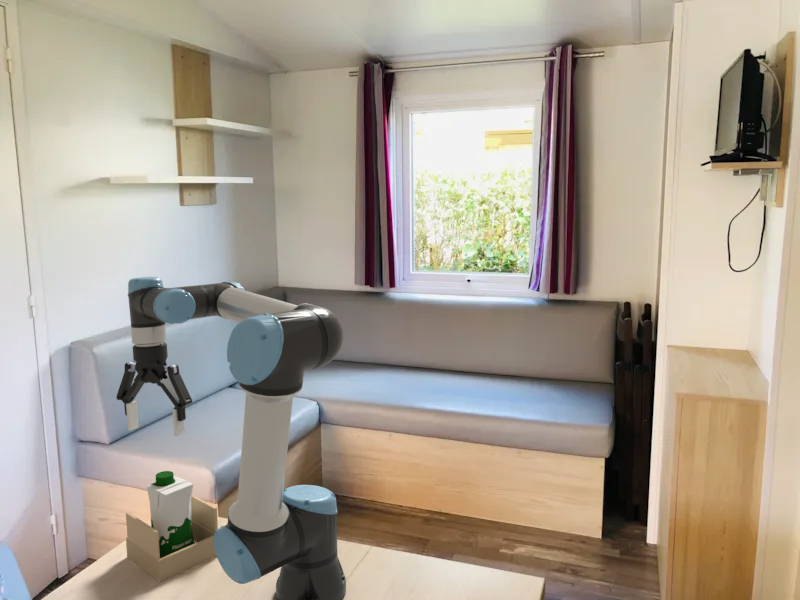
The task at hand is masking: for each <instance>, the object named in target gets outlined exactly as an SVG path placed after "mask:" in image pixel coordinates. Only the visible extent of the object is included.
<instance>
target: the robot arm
mask: <svg viewBox="0 0 800 600" xmlns="http://www.w3.org/2000/svg"><path fill="white" fill-rule="evenodd" d="M163 284H164V283H163V280H162V279H161V277H159V276H144V277H143V276H142V277H133V278H131V279H129V280H128V283H127V288H128V289H127V291H128V293H127V297H128V307H129V315H130V328H131V329H130V330H131V331H130V332H131V343H132V344H133V346H132V359H133V361H129V362H125V363H124V371H123V375H122V379H121V382H120V384H119V388H118V390H117V392H116V393H117V394H116V400H117V401H121V402H122V403H123V405H124V414H125V416H126V420H127V421H126V422H127V430H128V431H134V430H135V429H138V428H139V426H140V425H139V414H138V412H139V411H138V402H137V400H136V397H137V395H138V394H139V392H140V390H141V389H142V388H143V386H144V385H145V384H147V383H150V384H156V385H157V386H158V387H160V388H161V389H162V391H163V392H164V393H165V395H166V396H167V398H168V399H169V400H170V402H171V403H172V405H173V406H174V407H173V408H171V410H172V423H173V435H174V436H175V437H178V436H180V435H182V434H184V433H185V421H186V418H187V417H186V406H188V405H190V404H192V403H193V399H192V397H191V394H190V392H189V390H188V388H187V386H186V383H185V382H184V380H183V378H182V376H181V374H180V373H181V372H180V367H179V365H178V363H174V364H171V365H168V364H167V358H168V356H169V354H168V343H166V340H167V332H166V331H167V330H166V323H167V324H170V325H173V324H184V323H186V322H188V321H189V320H195V319H201V318H209V317H210V318H211V317H215V316H216V317H219V318H223V319H226V320H230V321H232V322H235V323H238V324H236V325H235V326H234V328H233V329H232V330H231V333H230V336H229V337H228V342H227V346H226V359H227V363H229V365H228V369H229V371H230V373H231V375H232V376H233V378H234V379H235V380H236V381H237V382H238V386H239V388H240V389H241V390H242V391H243V392H244V393H245V404H244V405H245V406H244V417H243V426H242V429H243V430H242V442H241V454H240V465H239V478H238V489H237V500H235V501H234V502H233V503H232V504H231V505H230V507H229V509H228V515H227V523H226V525H221V526H220V527H218V530H216V532H215V534H214V539H213V541H214V549H215V553H216V556H215V557H216V558H217V560H218V562H219V565H220V568H222V570H223V571H224V573H225V574H226V575H227V577H228V578H229V579H230V580H232V581H233V582H235V583H237V584H239V585H240V584H241V585H246V584H248V583H251V582H254V581H256V580H259V579H261V578H262V577H264V576H267V575H268V574H270V573H271V572H273V571H276V570H277V569H279V568H280V571H279V575H278V577H277V579H276V583H275V597H276V600H343V598H344V597H345V594H346V592H347V579H346V575H345V573H344V569H343V568H342V564H341V561H340V558H339V556H338V512H339V511H338V509H337V507H338V506H337V498H336V495H335V494H334V493H333V491H332V490H329V489H328V488H326V487H323V486H319V485H313V484H297V485H292V486H288V487H287V488H286V487H285V479H286V477H285V476H286V468H287V467H286V466H287V457H288V448H289V438H290V429H291V419H292V418H291V417H292V411H293V399H294V396H296V395H297V394H298V393H300V392H301V391H302V389H303V382H304V375H305V372H307V371H310V370H315V369H319V368H321V367H324V366H326V365H328V364H330V363H331V362H332V361H333V360H334V359H335V358H337V356H338V354H339V353H340V351H341V349H342V346H343V342H344V329H343V325H342V323H341V321H340V319H339V318H338V317H337V316H336V314H334V312H332V311H331V310H330V309H328V308H326V307H322V306H318V305H315V304H312V303H300V304H298V305H296V304H294V303H290V302H287V301H283V300H280V299H276V298H272V297H269V296H265V295H262V294H258V293H255V292H251V291H247V290H245V288H244V287H243V286H242V284H240V283H239V282H236V281H231V282H230V281H222V282H218V283H210V284H209V283H208V284H199V285H188V286H187V285H186V286H177V287H164V285H163ZM136 372H137V373H136ZM136 374H137V375H136ZM174 436H173V437H174ZM284 488H285V489H284Z"/></svg>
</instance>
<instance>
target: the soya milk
mask: <svg viewBox="0 0 800 600" xmlns="http://www.w3.org/2000/svg"><path fill="white" fill-rule="evenodd" d="M193 488H194V483H193V482H192V483H191V482H190V481H188V480H187V479H184V478H181V477H179V476H175V475H174V472H173V471H171V470H164V471H160V472H157V473H156V474H155V481H154V482H153V483H151V484H148V485H147V486H146V491H147V496H148V501H149V508H150V509H149V510H150V524H151V525H150V526H151V527H152V528H154V529H155V530H157V531H158V535H159V552H160V558H162V557H165V556H167V555H169V554H172V553H174V552H176V551H179V550H181V549H183V548H185V547H188V546H190V545H192V544H195V541H194V540H193V531H192V511H191V496H192V495H193Z"/></svg>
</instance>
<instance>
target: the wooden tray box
mask: <svg viewBox="0 0 800 600" xmlns="http://www.w3.org/2000/svg"><path fill="white" fill-rule="evenodd" d="M191 511H192V531H193V540H195V541H194V544H192V545H190V546H188V547H185V548H183V549H181V550H179V551H176V552H174V553H172V554H169V555H167V556H165V557H162V558H160V552H159V535H158V531H157V530H155V529H154V528H152V527H151V525H149V524H147V523H146V522H144V521H143V520H141V519H140V518H138V517H137V516H135V515H133V514H132V513H131V512H129V511H127V512H125V520H126V524H125V525H126V535H127V536H126V537H125V542H126V543H125V545H126V547H125V548H126V558H127V559H129V560H130V561H132V562H133V563H134V564H135V565H137V566H139V567H140V568H141V569H142V570H144V571H145V572H147V573H148V574H149V575H151V576H152V577H153V578H154V579H156V580H157V581H159V582H163V581H165V580H167V579H170V578H172V577H174V576H176V575H179V574H180V573H183V572H185V571H187V570H189V569H192V568H193V567H196V566H198V565H200V564H202V563H204V562H206V561H209V560H211V559H213V558H215V557H217V556H216V553H215V549H214V541H213V539H214V534H215V532H216V530H218V529H219V527H218V526H219V525H218V522H219V521H218V508H217V507H216V506H214V505H212V504H210V503H208V502H207V501H205V500H202V499H201V498H199V497H197V496H195V495H194V494H192V496H191Z"/></svg>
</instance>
